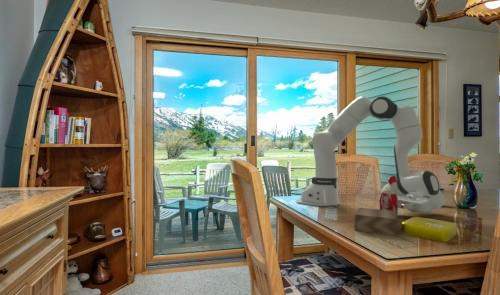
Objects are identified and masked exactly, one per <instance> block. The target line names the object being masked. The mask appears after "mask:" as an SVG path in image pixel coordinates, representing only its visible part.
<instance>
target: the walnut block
mask: <svg viewBox="0 0 500 295" xmlns="http://www.w3.org/2000/svg"><path fill="white" fill-rule="evenodd" d="M354 231H355V232H365V233H366V232H367V233H374V234H381V235H390V236H397V235H396V234H397V220H396V211H391V210H380V208H366V207H359V208H358V209H357V211H356V212H355V214H354Z"/></svg>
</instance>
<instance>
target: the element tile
mask: <svg viewBox="0 0 500 295" xmlns="http://www.w3.org/2000/svg"><path fill="white" fill-rule="evenodd" d="M400 227H401V228H400V229H401V231H400V232H401V234H403V235H406V236H410V237H411V236H412V237H416V238H420V237H421V238H420V239H425V238H426V240H430V239H431V240H430V241H437V242H440V243H441V242H442V243H444V242H446V243H447V242H449V241H450V240H452V239H453V238H454V237H456V235H457V223H455V222H451V221H445V220H440V219H439V220H438V219H433V218H426V217H421V216H413V217H411V218H409V219H406V220H404V221H402V222H401V226H400Z"/></svg>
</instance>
